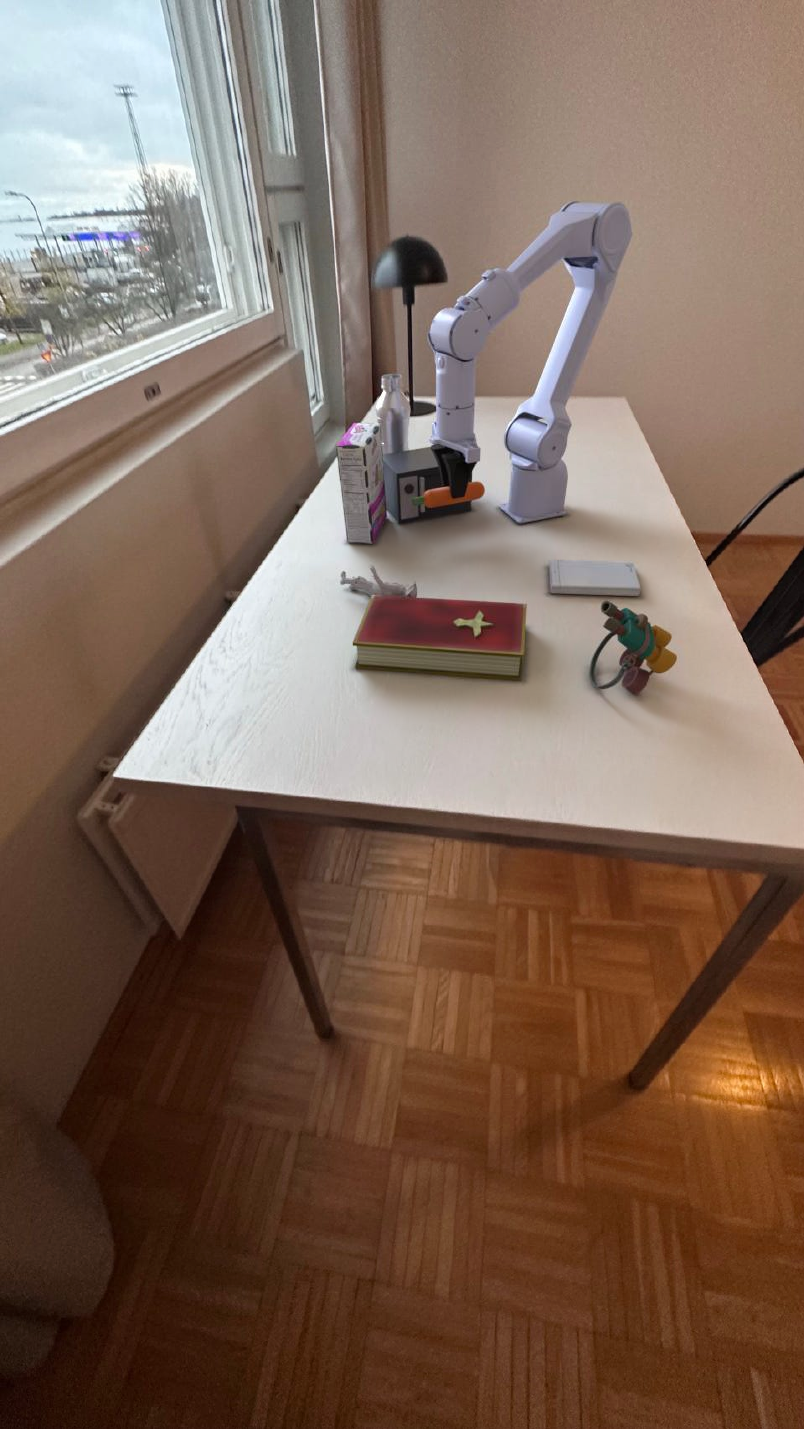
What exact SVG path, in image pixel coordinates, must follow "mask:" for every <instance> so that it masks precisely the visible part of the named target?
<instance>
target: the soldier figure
mask: <svg viewBox="0 0 804 1429" xmlns="http://www.w3.org/2000/svg"><path fill="white" fill-rule="evenodd" d="M368 568H369V569H370V571H371V573H372V577H373V580H375V582H374V581H372V580H368V579H366V578H365V577H364V576H361V575H357V576H352V577H346V576H347V572H346V571H344V570H342V571H341V573H340V578H341V580H340V582H339V583H340V585H341V586H344V585H349V586H348V587H349V588H348V589H349V590H354V589H355V590H363V591H364V592H365V594H366V595H367V596H369V597H370V598H371V596H372V595H381V596H399V597H416V598H418V587H417V583H416V581H415V580H414V581H413V582H412V583H411V584H410V585H409V584H408V585H407V587H406V586H404V585H402V584H400V583H399V582H391V583H389V582H388V581H386V582H384V581H383V580H382V579H381V578H380V576H379V574H378V573H377V570H376V568H375V566H374V564H373V565H372V564H371V565H369V566H368Z"/></svg>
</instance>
